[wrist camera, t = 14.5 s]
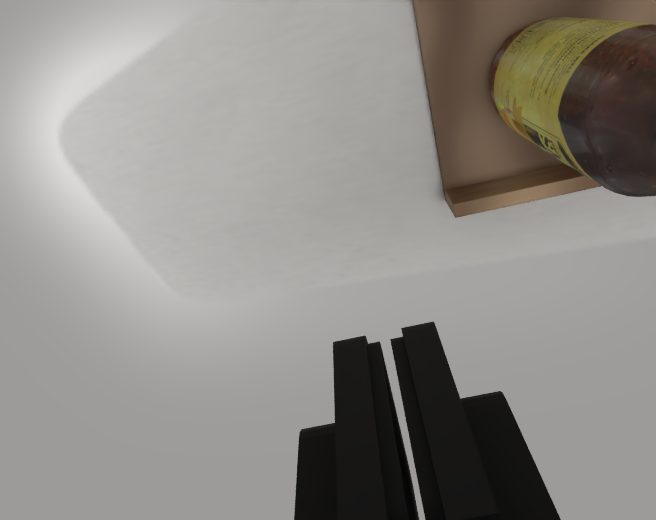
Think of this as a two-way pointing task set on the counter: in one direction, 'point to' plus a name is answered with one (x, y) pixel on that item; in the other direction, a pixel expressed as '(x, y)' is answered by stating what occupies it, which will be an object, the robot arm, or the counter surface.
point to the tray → (477, 106)
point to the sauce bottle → (584, 97)
